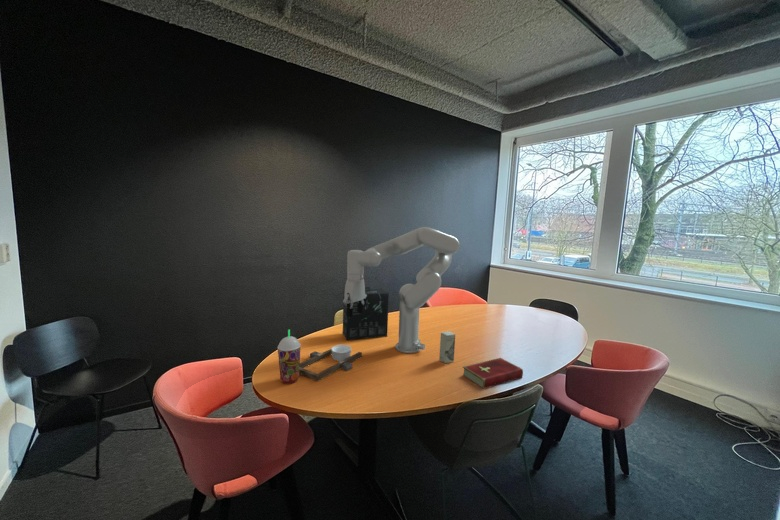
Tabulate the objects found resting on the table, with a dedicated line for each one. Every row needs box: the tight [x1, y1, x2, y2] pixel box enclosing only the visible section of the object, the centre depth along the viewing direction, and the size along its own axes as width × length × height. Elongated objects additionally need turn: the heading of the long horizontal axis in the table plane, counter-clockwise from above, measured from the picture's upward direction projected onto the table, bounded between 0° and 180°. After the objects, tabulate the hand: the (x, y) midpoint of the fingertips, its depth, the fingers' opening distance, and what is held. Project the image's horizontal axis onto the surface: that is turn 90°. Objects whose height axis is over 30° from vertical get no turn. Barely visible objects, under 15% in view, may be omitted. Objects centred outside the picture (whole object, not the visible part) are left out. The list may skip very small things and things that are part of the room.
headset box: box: [342, 286, 390, 341], centre depth 171 cm, size 22×12×26 cm, turn 111°
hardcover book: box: [462, 357, 524, 389], centre depth 130 cm, size 12×21×4 cm, turn 117°
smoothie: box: [277, 329, 302, 384], centre depth 121 cm, size 8×8×20 cm
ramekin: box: [330, 344, 352, 362], centre depth 144 cm, size 9×9×4 cm
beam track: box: [299, 348, 363, 382], centre depth 137 cm, size 22×28×2 cm
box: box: [438, 330, 456, 364], centre depth 142 cm, size 5×4×13 cm
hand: (355, 314), depth 150 cm, fingers open, 6 cm apart
